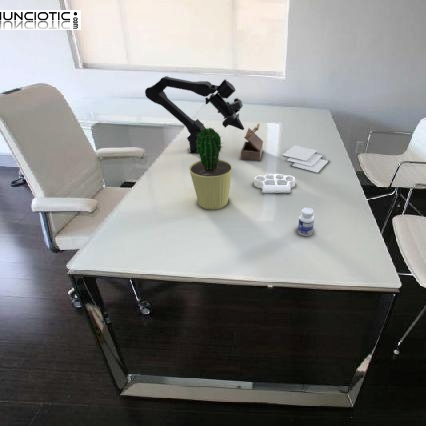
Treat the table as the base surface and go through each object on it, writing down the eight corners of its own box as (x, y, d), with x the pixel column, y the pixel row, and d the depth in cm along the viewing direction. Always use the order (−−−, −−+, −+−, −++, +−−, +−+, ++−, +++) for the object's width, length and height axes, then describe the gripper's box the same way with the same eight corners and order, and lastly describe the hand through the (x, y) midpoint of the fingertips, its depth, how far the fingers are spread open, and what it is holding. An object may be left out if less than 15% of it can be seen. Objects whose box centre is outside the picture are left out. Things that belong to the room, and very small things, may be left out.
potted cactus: (214, 217, 115) (208, 137, 98) (184, 203, 121) (174, 126, 105) (241, 200, 126) (240, 126, 109) (212, 188, 132) (207, 117, 116)
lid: (244, 137, 153) (253, 127, 150) (247, 128, 164) (257, 119, 161) (259, 152, 157) (269, 142, 154) (262, 142, 168) (271, 133, 165)
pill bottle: (296, 227, 113) (299, 206, 108) (311, 227, 114) (314, 206, 109) (298, 236, 109) (300, 214, 104) (313, 236, 109) (316, 215, 104)
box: (241, 159, 159) (240, 150, 157) (244, 149, 170) (244, 141, 168) (259, 161, 159) (260, 152, 157) (262, 150, 171) (262, 142, 168)
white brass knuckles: (255, 195, 130) (253, 178, 142) (297, 194, 133) (292, 179, 145) (255, 188, 128) (253, 172, 140) (298, 187, 131) (293, 172, 143)
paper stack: (333, 155, 172) (333, 154, 171) (317, 172, 152) (317, 171, 152) (294, 146, 179) (294, 145, 179) (274, 161, 160) (274, 160, 159)
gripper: (228, 98, 140) (252, 124, 147) (235, 89, 156) (257, 113, 162) (212, 114, 145) (236, 139, 151) (220, 104, 160) (242, 127, 166)
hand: (243, 129), depth 157 cm, fingers closed
